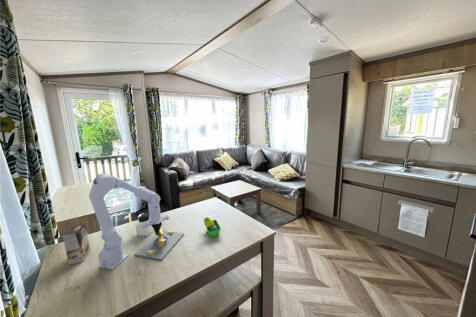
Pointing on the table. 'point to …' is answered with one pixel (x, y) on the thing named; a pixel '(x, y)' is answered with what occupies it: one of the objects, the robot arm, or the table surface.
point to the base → (159, 252)
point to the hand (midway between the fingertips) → (157, 234)
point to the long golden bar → (160, 239)
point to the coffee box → (76, 243)
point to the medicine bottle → (142, 219)
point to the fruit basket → (212, 227)
